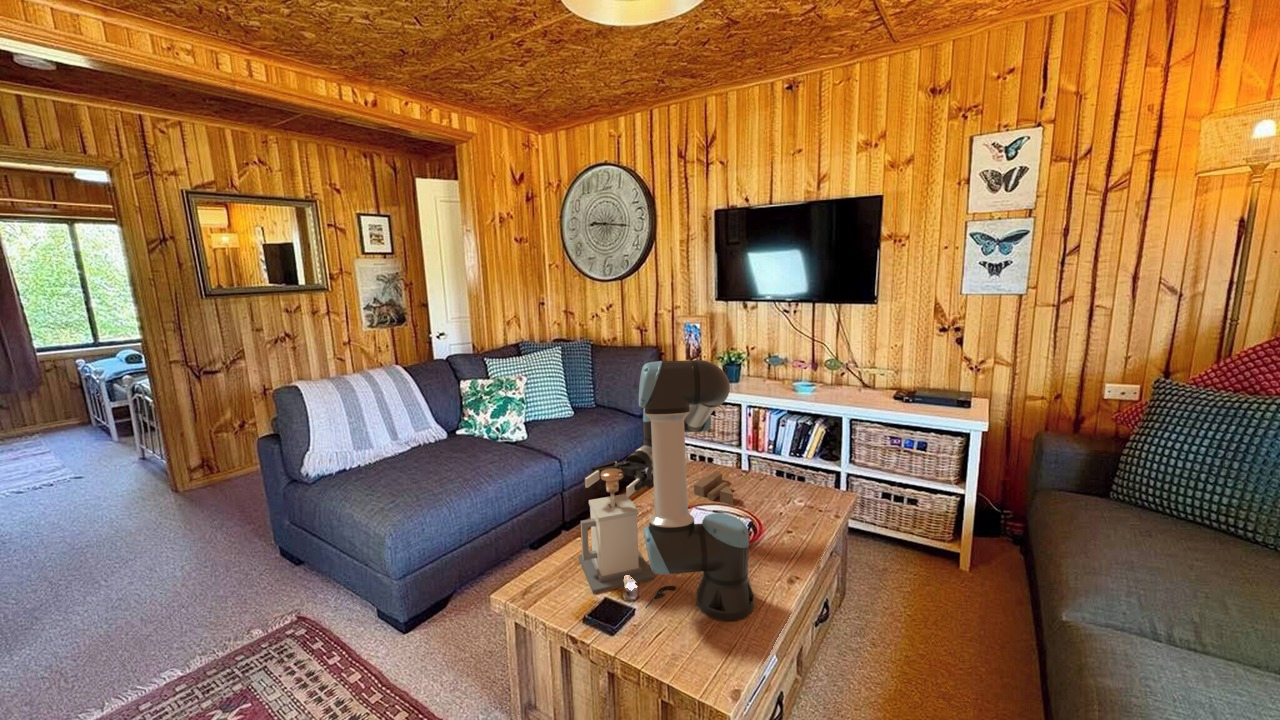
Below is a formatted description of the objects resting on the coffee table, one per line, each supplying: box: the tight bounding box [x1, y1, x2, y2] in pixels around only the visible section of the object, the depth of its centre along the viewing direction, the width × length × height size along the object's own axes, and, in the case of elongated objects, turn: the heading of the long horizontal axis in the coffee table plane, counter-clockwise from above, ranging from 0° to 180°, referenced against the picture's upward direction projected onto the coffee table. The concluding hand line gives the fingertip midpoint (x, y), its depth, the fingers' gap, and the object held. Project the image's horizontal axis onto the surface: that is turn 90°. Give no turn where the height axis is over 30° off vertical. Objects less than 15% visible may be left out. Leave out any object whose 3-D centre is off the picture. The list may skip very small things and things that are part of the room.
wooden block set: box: [693, 470, 734, 506], centre depth 199 cm, size 17×6×18 cm
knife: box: [644, 585, 677, 609], centre depth 137 cm, size 14×4×1 cm, turn 150°
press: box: [580, 493, 642, 582], centre depth 149 cm, size 12×16×19 cm
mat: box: [578, 550, 655, 594], centre depth 151 cm, size 18×18×1 cm
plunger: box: [600, 468, 624, 508], centre depth 148 cm, size 6×6×23 cm
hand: (606, 487), depth 143 cm, fingers open, 13 cm apart
